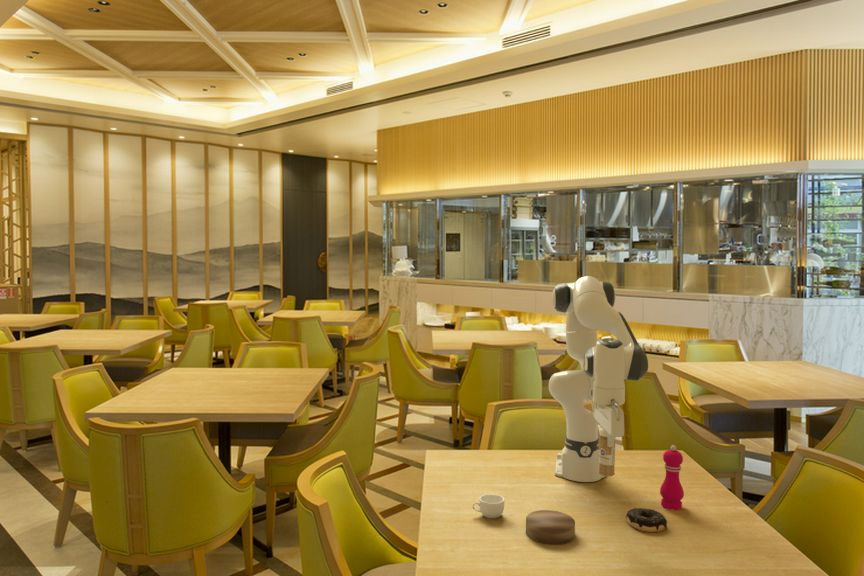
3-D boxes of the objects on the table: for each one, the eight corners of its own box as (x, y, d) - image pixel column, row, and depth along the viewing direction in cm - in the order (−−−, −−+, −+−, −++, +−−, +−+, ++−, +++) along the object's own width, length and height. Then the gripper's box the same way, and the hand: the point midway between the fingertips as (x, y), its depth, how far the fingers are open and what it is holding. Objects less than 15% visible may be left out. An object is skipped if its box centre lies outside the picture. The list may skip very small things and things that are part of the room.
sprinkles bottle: (595, 474, 182) (597, 428, 182) (602, 470, 186) (604, 425, 185) (610, 478, 180) (612, 431, 179) (617, 474, 183) (618, 428, 182)
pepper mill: (685, 511, 200) (687, 449, 199) (661, 509, 202) (663, 448, 200) (681, 502, 207) (683, 442, 206) (658, 500, 209) (659, 441, 208)
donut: (647, 537, 183) (647, 523, 182) (617, 521, 193) (617, 508, 193) (674, 529, 188) (674, 516, 187) (644, 514, 198) (644, 502, 198)
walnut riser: (522, 522, 191) (522, 509, 191) (569, 523, 191) (569, 510, 190) (529, 544, 177) (529, 530, 177) (579, 544, 177) (579, 530, 176)
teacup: (500, 510, 200) (501, 493, 200) (507, 520, 193) (507, 502, 192) (469, 511, 199) (470, 494, 199) (474, 521, 191) (475, 504, 191)
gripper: (630, 405, 171) (629, 455, 172) (610, 388, 191) (608, 433, 192) (607, 404, 171) (606, 454, 172) (589, 388, 191) (588, 433, 192)
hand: (607, 443), depth 182 cm, fingers closed on sprinkles bottle, 4 cm apart
